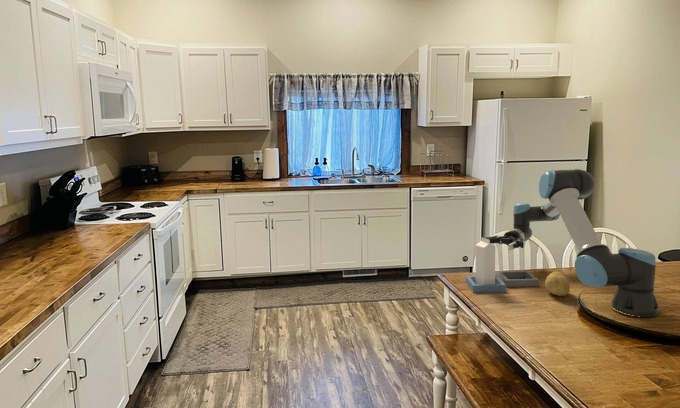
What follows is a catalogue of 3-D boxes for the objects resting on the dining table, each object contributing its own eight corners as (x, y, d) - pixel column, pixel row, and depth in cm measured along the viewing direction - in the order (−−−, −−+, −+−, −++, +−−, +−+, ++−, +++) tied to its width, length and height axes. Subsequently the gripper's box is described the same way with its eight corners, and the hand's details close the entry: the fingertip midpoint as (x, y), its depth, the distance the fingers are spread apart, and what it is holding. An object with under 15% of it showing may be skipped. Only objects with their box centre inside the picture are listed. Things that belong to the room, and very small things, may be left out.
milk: (486, 284, 216) (487, 236, 213) (495, 287, 211) (495, 239, 208) (475, 285, 214) (475, 237, 211) (483, 289, 209) (484, 240, 206)
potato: (540, 297, 197) (540, 275, 196) (549, 287, 208) (550, 266, 207) (566, 301, 191) (567, 278, 189) (574, 291, 202) (575, 269, 201)
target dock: (505, 291, 205) (505, 284, 205) (473, 292, 206) (472, 285, 206) (496, 281, 219) (496, 275, 219) (465, 282, 220) (465, 276, 219)
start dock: (538, 286, 211) (538, 279, 210) (506, 287, 211) (506, 280, 211) (527, 276, 224) (527, 270, 224) (497, 277, 225) (497, 271, 225)
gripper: (539, 248, 225) (521, 257, 210) (489, 242, 242) (469, 250, 226) (539, 232, 224) (522, 240, 209) (489, 227, 241) (469, 235, 225)
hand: (494, 245), depth 218 cm, fingers open, 13 cm apart
